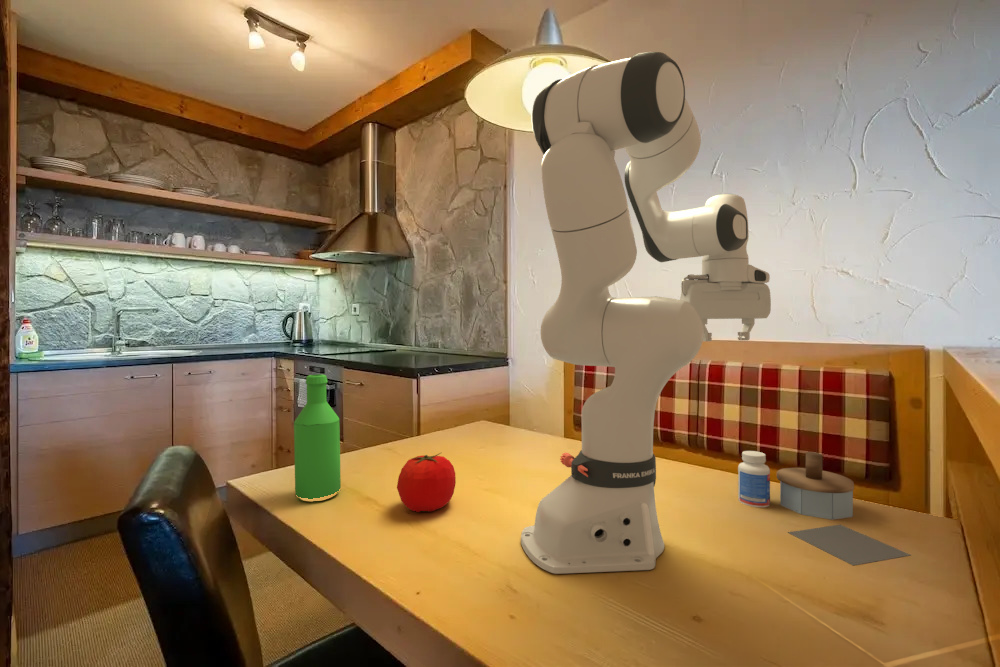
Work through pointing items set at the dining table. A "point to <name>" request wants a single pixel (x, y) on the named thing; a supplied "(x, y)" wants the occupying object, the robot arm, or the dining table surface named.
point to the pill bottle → (754, 480)
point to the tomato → (426, 483)
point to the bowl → (817, 502)
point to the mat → (848, 544)
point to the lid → (815, 477)
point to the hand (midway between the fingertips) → (725, 340)
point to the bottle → (317, 444)
